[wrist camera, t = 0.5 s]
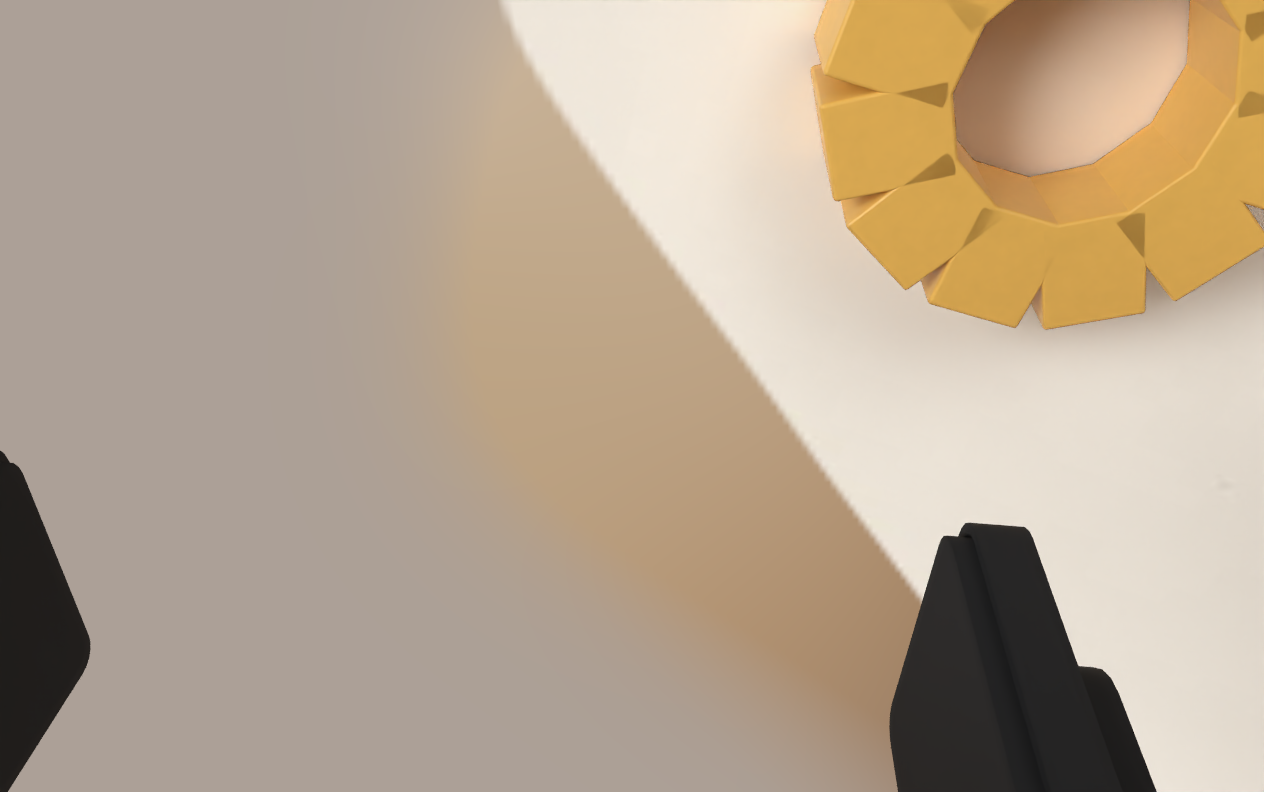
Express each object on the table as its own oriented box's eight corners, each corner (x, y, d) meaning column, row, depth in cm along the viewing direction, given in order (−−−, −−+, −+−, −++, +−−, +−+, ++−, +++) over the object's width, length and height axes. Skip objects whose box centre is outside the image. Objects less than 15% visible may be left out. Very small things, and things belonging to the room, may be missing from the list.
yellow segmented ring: (776, -138, 19) (783, -115, 17) (1357, -296, 17) (1441, -292, 15) (847, 306, 24) (859, 362, 22) (1296, 225, 22) (1352, 279, 20)
